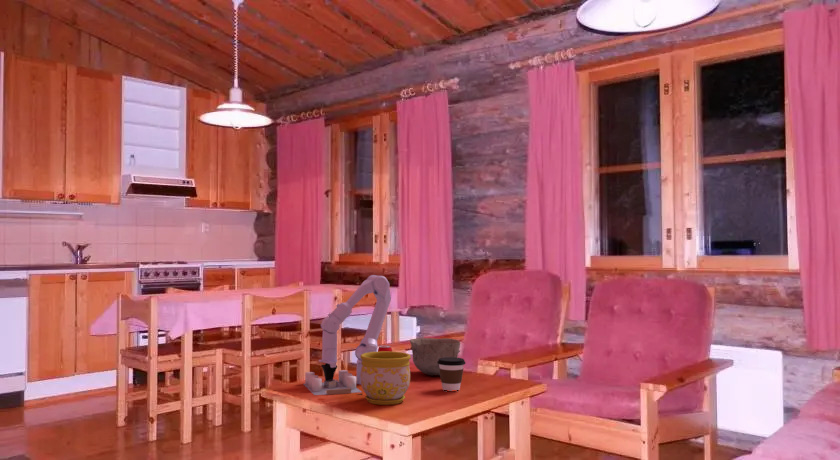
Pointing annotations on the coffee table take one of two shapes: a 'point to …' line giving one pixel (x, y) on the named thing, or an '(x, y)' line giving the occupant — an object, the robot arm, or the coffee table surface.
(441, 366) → the coffee cup
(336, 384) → the hexagonal block with ball
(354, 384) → the spacer board
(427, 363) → the bowl
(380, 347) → the beverage can
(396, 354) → the flowerpot
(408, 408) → the coffee table surface
